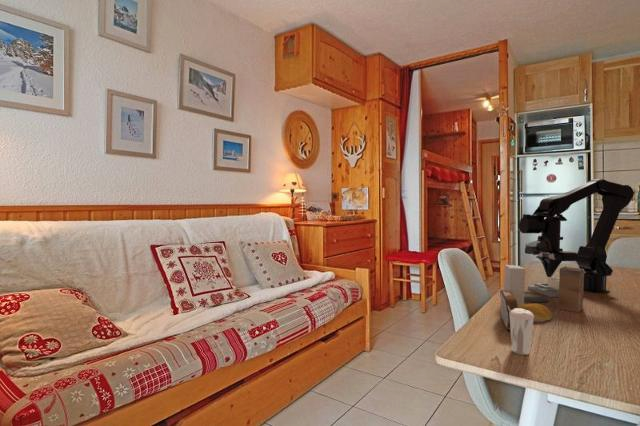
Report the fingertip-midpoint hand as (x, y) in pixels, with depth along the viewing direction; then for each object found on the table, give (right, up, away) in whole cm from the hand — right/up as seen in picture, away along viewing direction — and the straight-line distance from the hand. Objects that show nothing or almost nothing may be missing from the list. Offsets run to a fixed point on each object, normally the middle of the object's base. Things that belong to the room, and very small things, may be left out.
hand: (549, 277), depth 131 cm
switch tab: (+1, -4, -3) cm, 5 cm away
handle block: (-7, -6, -21) cm, 23 cm away
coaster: (-12, -5, -11) cm, 17 cm away
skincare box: (-22, -6, -18) cm, 30 cm away
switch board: (0, -5, -2) cm, 5 cm away
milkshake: (-40, -7, -53) cm, 67 cm away
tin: (-33, -6, -36) cm, 49 cm away
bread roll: (-23, -6, -30) cm, 38 cm away
